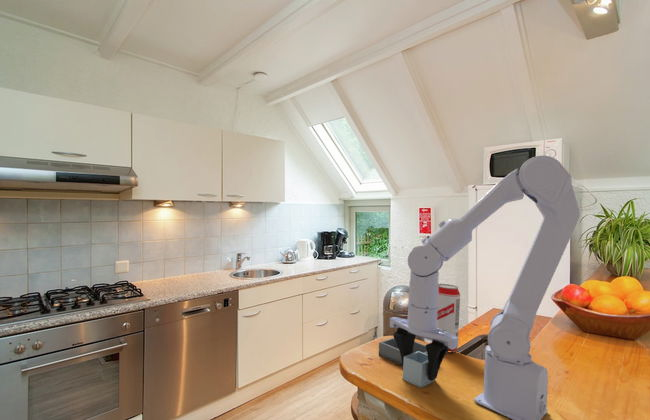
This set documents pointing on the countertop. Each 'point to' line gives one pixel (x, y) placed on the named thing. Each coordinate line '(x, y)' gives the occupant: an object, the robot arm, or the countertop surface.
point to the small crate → (416, 369)
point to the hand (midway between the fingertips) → (419, 372)
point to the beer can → (448, 309)
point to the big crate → (396, 350)
